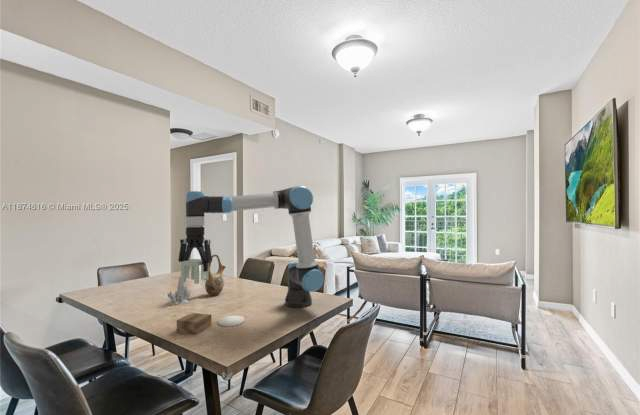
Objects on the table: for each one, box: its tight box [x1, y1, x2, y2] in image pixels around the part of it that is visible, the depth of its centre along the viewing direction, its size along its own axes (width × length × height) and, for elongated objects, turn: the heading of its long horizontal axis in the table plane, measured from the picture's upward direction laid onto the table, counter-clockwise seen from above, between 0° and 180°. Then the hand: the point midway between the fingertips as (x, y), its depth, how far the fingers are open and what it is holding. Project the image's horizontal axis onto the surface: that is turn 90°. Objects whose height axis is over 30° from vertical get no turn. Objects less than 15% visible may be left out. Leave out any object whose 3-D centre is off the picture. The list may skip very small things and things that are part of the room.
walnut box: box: [176, 312, 212, 335], centre depth 134 cm, size 10×10×5 cm
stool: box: [180, 258, 209, 285], centre depth 134 cm, size 8×8×9 cm
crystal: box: [167, 275, 191, 306], centre depth 173 cm, size 10×13×15 cm
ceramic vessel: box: [204, 253, 227, 297], centre depth 189 cm, size 16×9×25 cm, turn 147°
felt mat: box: [217, 315, 246, 327], centre depth 143 cm, size 12×12×1 cm
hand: (195, 278), depth 134 cm, fingers closed on stool, 8 cm apart
